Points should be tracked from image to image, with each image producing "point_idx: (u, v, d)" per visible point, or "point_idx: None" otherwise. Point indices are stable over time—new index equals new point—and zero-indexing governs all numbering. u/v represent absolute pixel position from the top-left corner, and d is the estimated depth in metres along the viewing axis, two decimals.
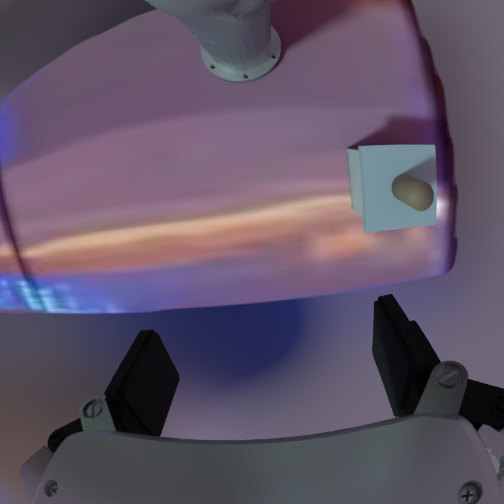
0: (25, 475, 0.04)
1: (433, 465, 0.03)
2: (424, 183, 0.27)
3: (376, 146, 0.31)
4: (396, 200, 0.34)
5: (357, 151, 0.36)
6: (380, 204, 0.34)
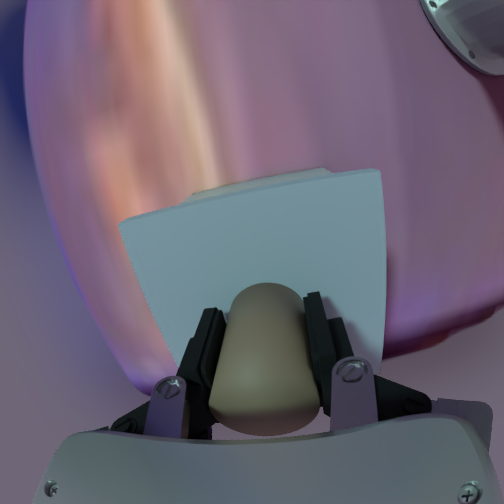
0: None
1: (433, 465, 0.03)
2: (312, 411, 0.08)
3: (382, 223, 0.11)
4: (227, 301, 0.13)
5: None
6: (205, 255, 0.12)
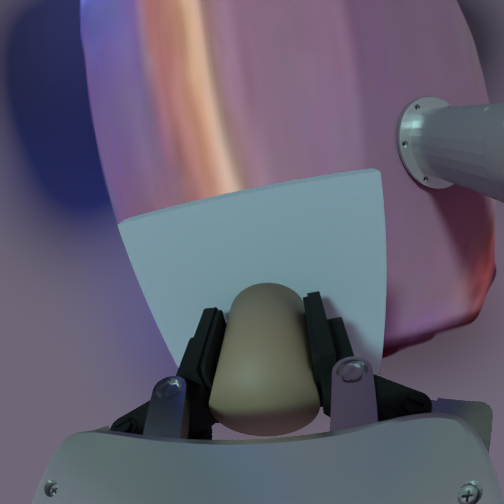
0: None
1: (433, 465, 0.03)
2: (313, 411, 0.08)
3: (382, 223, 0.11)
4: (227, 302, 0.13)
5: None
6: (205, 255, 0.12)
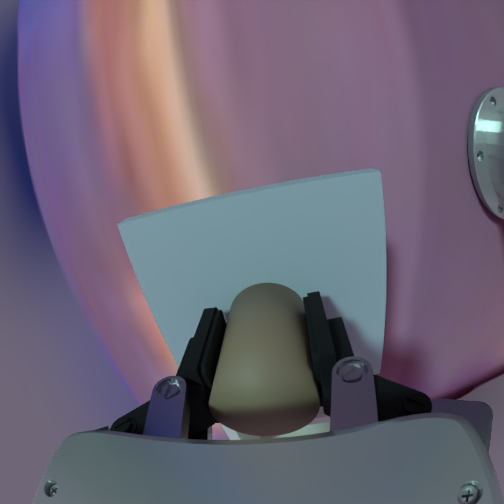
0: None
1: (433, 465, 0.03)
2: (313, 411, 0.08)
3: (382, 223, 0.11)
4: (227, 301, 0.13)
5: None
6: (205, 255, 0.12)
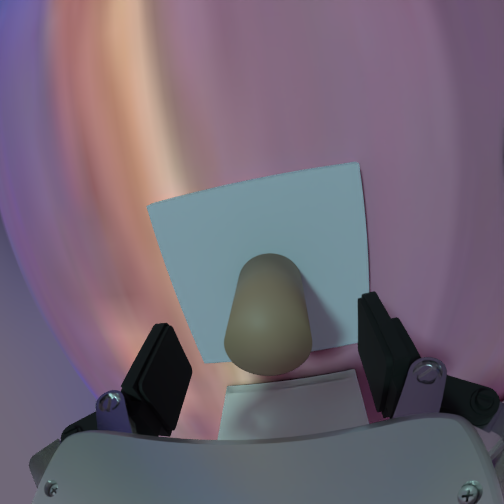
0: (35, 467, 0.05)
1: (433, 465, 0.03)
2: (307, 347, 0.11)
3: (361, 204, 0.14)
4: (236, 270, 0.16)
5: None
6: (219, 230, 0.15)
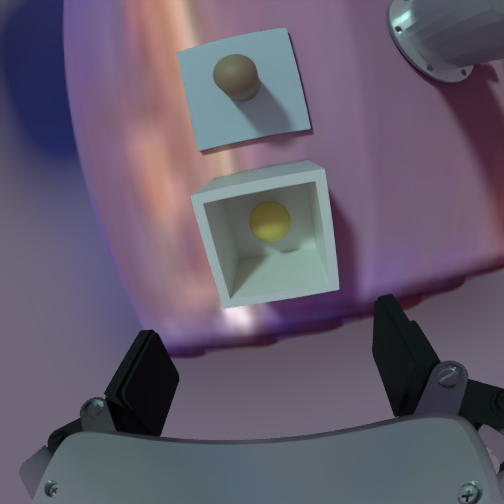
0: (25, 475, 0.04)
1: (433, 465, 0.03)
2: (254, 73, 0.19)
3: (289, 45, 0.22)
4: None
5: (315, 165, 0.22)
6: (214, 59, 0.23)
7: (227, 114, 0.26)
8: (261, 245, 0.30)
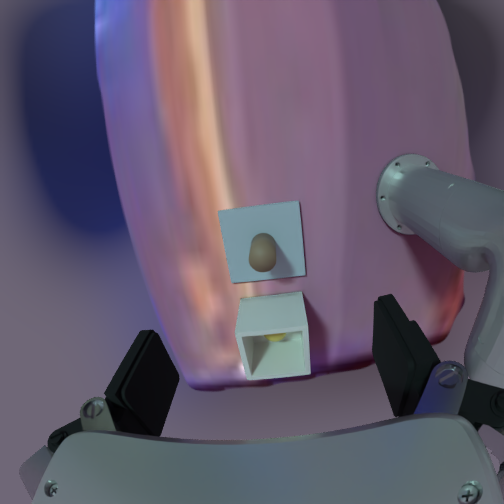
0: (25, 475, 0.04)
1: (433, 465, 0.03)
2: (274, 261, 0.37)
3: (299, 216, 0.40)
4: (250, 239, 0.41)
5: (304, 311, 0.40)
6: (245, 223, 0.41)
7: None
8: None
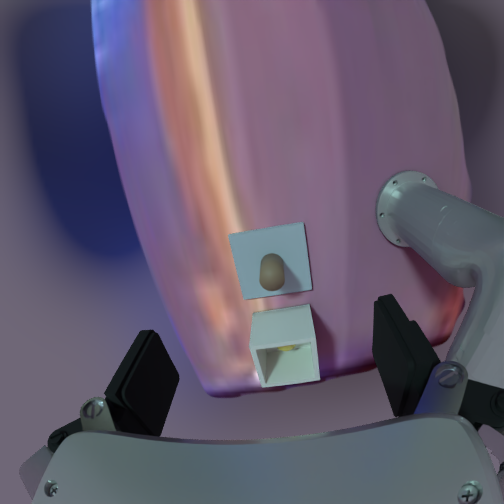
0: (25, 475, 0.04)
1: (433, 465, 0.03)
2: (283, 280, 0.40)
3: (304, 237, 0.43)
4: (260, 259, 0.45)
5: (312, 324, 0.42)
6: (254, 245, 0.44)
7: None
8: None
